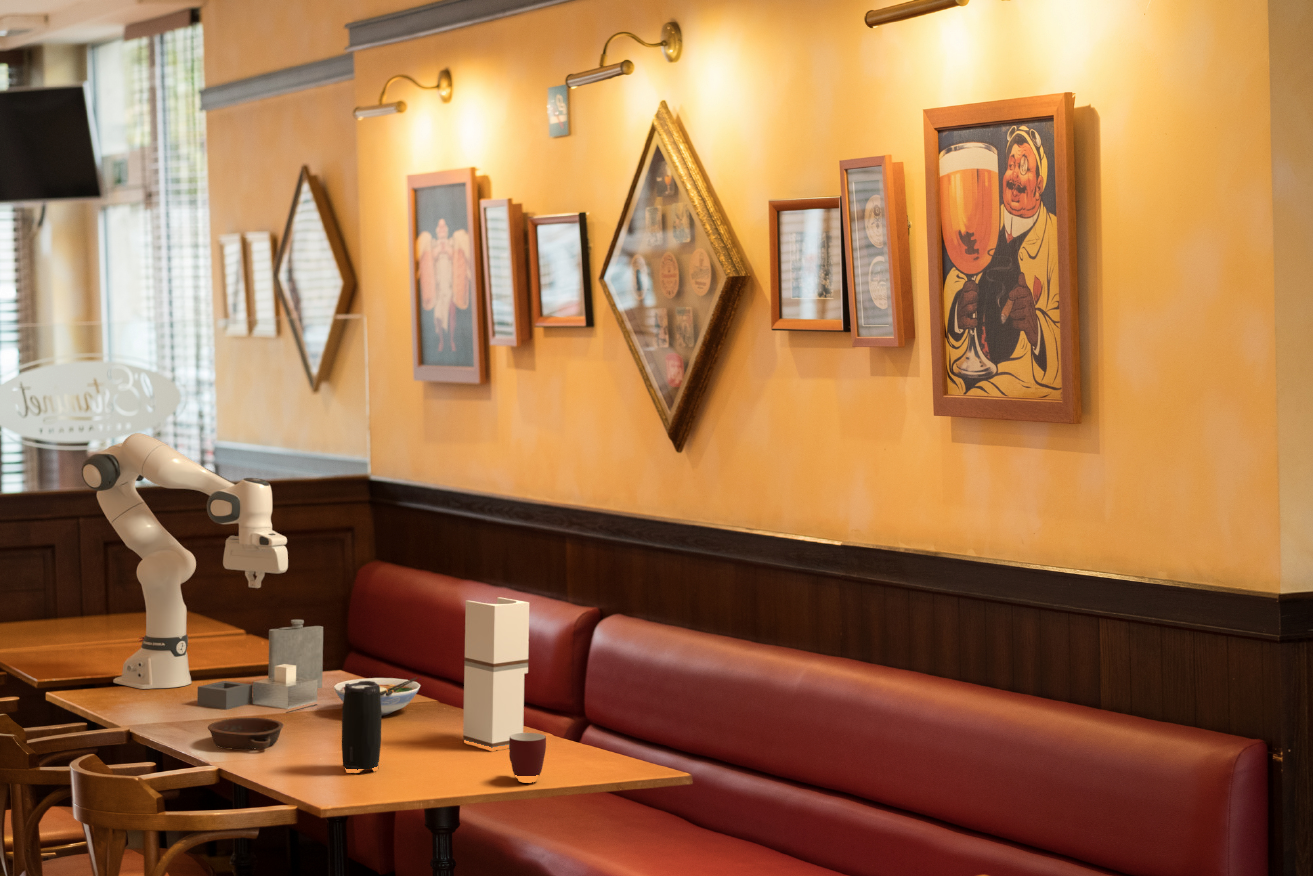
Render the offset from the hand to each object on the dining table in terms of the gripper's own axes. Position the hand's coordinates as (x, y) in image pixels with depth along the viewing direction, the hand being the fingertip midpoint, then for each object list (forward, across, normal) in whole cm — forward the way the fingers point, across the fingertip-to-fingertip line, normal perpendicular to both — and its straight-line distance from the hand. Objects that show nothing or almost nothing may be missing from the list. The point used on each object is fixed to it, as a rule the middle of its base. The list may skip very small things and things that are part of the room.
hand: (254, 587), depth 409 cm
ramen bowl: (+31, +39, +4) cm, 50 cm away
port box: (+31, +13, -2) cm, 34 cm away
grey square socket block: (+31, +1, -12) cm, 33 cm away
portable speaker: (+31, +73, -47) cm, 92 cm away
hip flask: (+31, 0, +18) cm, 36 cm away
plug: (+30, +13, -2) cm, 33 cm away
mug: (+31, +109, -36) cm, 119 cm away
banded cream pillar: (+31, +85, -10) cm, 91 cm away
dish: (+32, +34, -41) cm, 62 cm away
